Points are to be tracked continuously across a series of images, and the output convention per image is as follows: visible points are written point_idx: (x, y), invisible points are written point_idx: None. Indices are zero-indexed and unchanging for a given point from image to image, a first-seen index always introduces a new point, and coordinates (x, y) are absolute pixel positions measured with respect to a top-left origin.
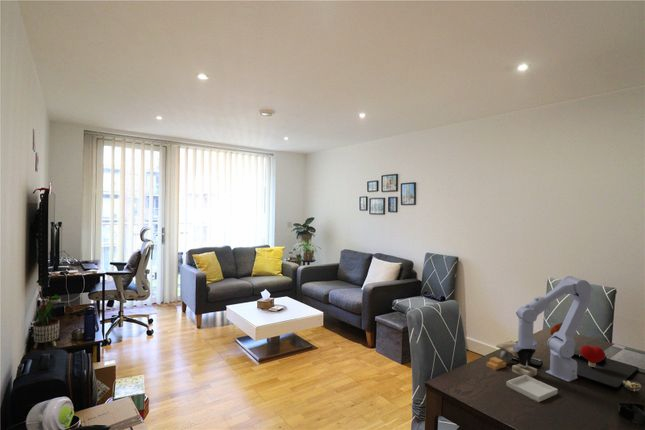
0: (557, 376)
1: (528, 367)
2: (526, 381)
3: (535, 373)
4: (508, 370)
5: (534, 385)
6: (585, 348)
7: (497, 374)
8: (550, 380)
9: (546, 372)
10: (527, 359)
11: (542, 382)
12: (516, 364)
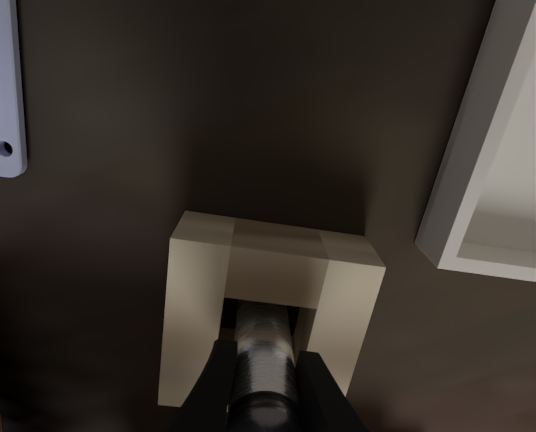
0: (8, 11)
1: (216, 317)
2: (486, 208)
3: (212, 222)
4: None
5: (533, 114)
6: None
7: (497, 410)
8: (190, 49)
9: (24, 161)
10: (255, 419)
11: (526, 36)
12: None
